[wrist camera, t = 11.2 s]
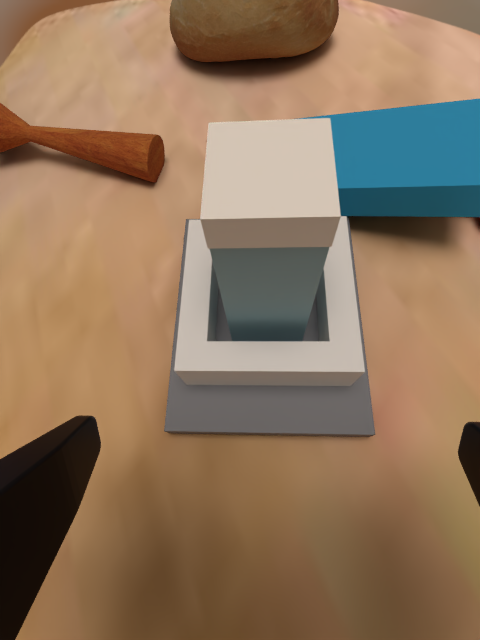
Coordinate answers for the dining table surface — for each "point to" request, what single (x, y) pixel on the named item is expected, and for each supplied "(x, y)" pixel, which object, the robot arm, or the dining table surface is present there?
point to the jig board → (269, 358)
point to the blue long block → (409, 160)
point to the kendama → (89, 145)
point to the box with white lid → (269, 221)
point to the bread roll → (250, 27)
